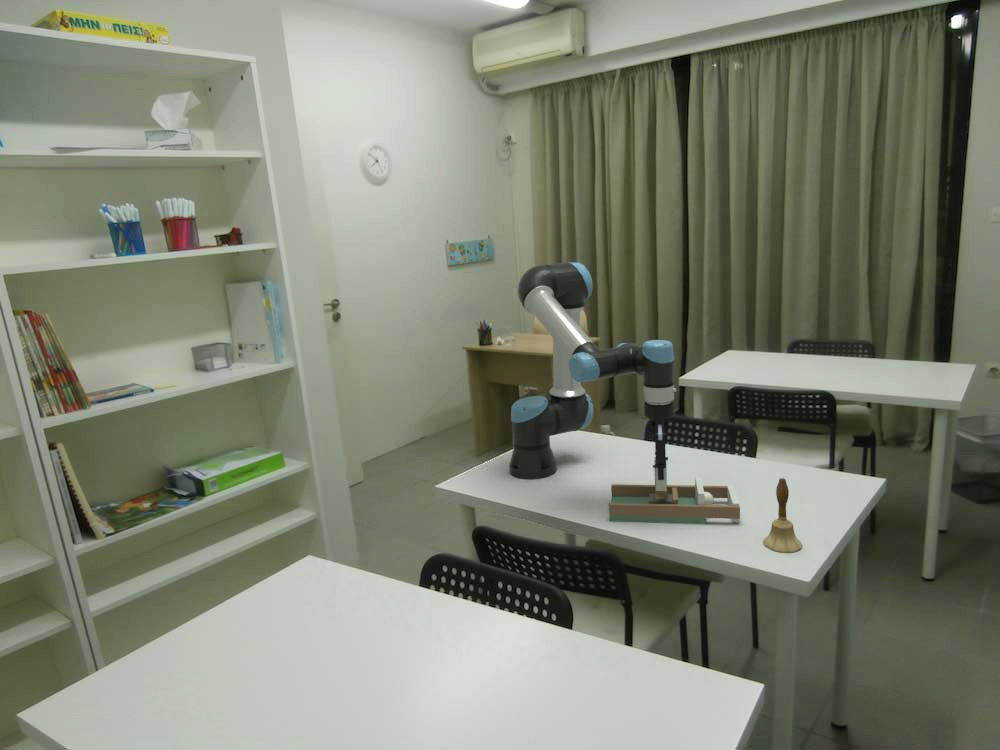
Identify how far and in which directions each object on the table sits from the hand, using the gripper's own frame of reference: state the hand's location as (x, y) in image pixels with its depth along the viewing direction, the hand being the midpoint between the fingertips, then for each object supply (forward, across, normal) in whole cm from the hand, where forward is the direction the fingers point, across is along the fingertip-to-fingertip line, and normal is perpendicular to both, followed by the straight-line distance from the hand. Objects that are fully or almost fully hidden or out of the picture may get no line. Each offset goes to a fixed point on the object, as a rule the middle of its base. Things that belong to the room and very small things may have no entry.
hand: (661, 487), depth 172 cm
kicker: (+5, 0, -1) cm, 5 cm away
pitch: (+7, 0, -3) cm, 7 cm away
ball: (+3, 0, -11) cm, 12 cm away
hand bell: (+7, -17, -27) cm, 32 cm away
